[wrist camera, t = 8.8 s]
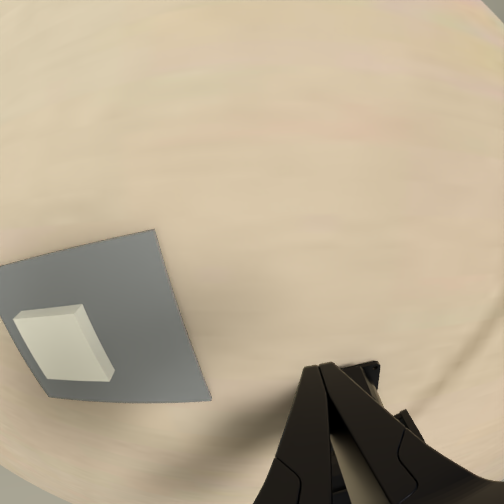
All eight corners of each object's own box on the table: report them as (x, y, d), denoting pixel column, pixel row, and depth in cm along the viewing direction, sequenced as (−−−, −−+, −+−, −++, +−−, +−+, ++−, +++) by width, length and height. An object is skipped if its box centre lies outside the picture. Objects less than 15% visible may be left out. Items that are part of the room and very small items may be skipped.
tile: (109, 381, 22) (47, 378, 23) (115, 370, 24) (53, 369, 24) (73, 313, 20) (12, 319, 20) (82, 303, 21) (21, 310, 22)
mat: (211, 397, 25) (211, 400, 25) (50, 394, 26) (48, 397, 26) (154, 228, 20) (152, 230, 19) (-17, 270, 21) (-19, 272, 20)
